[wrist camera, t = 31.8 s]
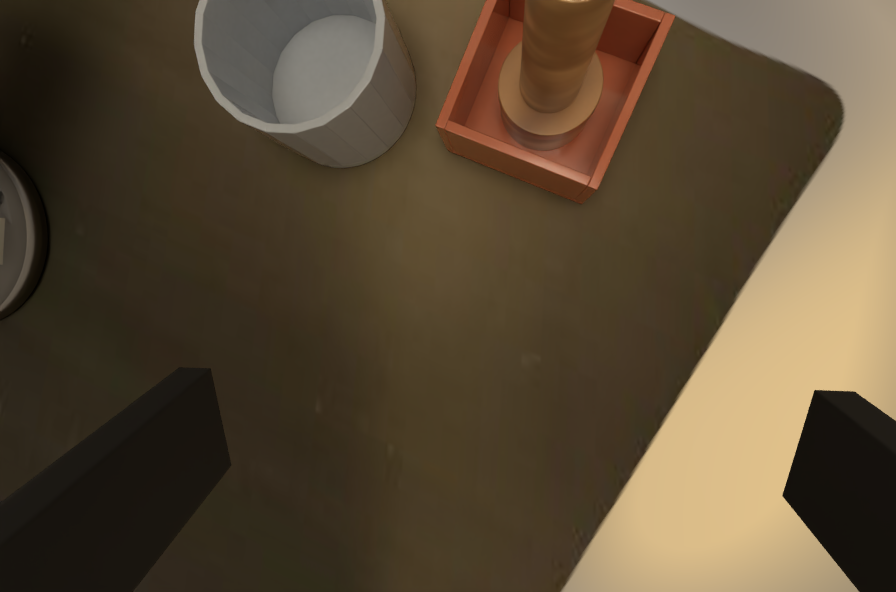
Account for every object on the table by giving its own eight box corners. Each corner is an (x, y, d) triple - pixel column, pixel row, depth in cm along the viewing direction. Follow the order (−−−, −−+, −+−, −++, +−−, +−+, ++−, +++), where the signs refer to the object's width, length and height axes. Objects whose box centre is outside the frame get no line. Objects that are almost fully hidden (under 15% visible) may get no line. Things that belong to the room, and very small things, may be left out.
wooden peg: (484, 132, 31) (464, 6, 16) (520, 46, 31) (533, -167, 16) (568, 166, 31) (626, 65, 16) (607, 78, 30) (704, -112, 15)
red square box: (447, 150, 32) (435, 125, 27) (504, 11, 31) (504, -45, 26) (581, 204, 31) (597, 189, 26) (645, 62, 30) (676, 15, 25)
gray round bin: (251, 136, 34) (167, 91, 26) (303, -7, 33) (233, -102, 25) (381, 190, 33) (338, 162, 25) (439, 45, 32) (415, -37, 24)
